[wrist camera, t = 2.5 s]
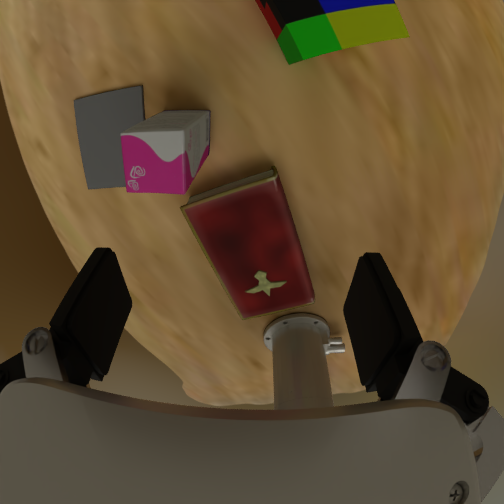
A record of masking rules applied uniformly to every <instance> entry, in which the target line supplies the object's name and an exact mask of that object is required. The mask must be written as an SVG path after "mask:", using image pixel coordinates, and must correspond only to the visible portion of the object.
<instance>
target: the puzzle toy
mask: <svg viewBox="0 0 504 504" xmlns="http://www.w3.org/2000/svg"><path fill="white" fill-rule="evenodd" d="M255 1H256V3H257V4H258V6H259V8H260V10H261V11H262V13H263V15H264V17H265V19H266V20H267V22H268V24H269V26H270V28H271V30H272V32H273V33H274V35H275V37H276V39H277V41H278V43H279V45H280V47H281V49H282V51H283V53H284V55H285V57H286V60H287V62H288V64H289V65H290V64H293V63H296V62H299V61H302V60H305V59H309V58H312V57H315V56H319V55H322V54H326V53H330V52H333V51H337V50H341V49H345V48H350V47H354V46H359V45H364V44H369V43H374V42H379V41H385V40H392V39H399V38H407V37H409V34H408V31H407V29H406V26H405V24H404V22H403V19H402V17H401V15H400V12H399V10H398V8H397V6H396V4H395V2H394V0H255Z"/></svg>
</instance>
